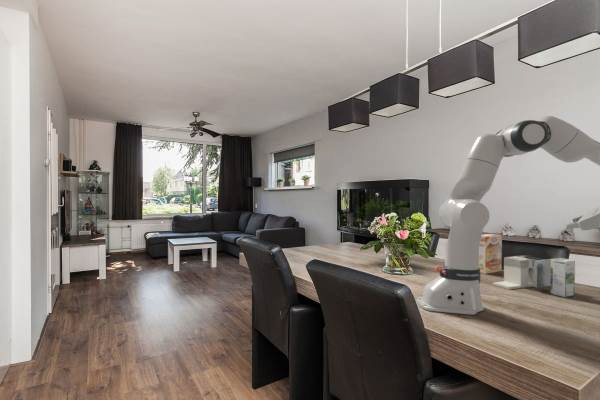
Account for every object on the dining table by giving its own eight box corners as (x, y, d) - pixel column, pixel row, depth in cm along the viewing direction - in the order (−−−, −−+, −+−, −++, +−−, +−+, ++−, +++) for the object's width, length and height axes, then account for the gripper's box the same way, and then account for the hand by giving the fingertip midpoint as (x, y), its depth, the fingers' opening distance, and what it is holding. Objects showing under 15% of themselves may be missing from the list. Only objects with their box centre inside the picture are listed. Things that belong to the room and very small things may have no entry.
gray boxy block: (556, 284, 141) (556, 259, 141) (537, 287, 137) (537, 260, 137) (532, 279, 150) (532, 255, 150) (513, 281, 146) (513, 256, 146)
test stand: (550, 284, 150) (550, 257, 150) (509, 289, 141) (509, 260, 141) (533, 279, 157) (533, 254, 157) (492, 284, 149) (492, 257, 149)
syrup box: (559, 292, 137) (559, 257, 137) (575, 296, 131) (575, 260, 131) (549, 293, 135) (550, 258, 135) (565, 297, 129) (565, 261, 129)
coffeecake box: (485, 274, 169) (485, 236, 169) (472, 271, 175) (472, 235, 175) (502, 271, 176) (502, 234, 176) (489, 268, 183) (489, 233, 183)
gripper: (614, 198, 127) (572, 210, 137) (604, 210, 114) (559, 223, 125) (623, 213, 126) (580, 224, 136) (614, 227, 113) (568, 238, 123)
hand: (570, 224), depth 130 cm, fingers open, 8 cm apart
